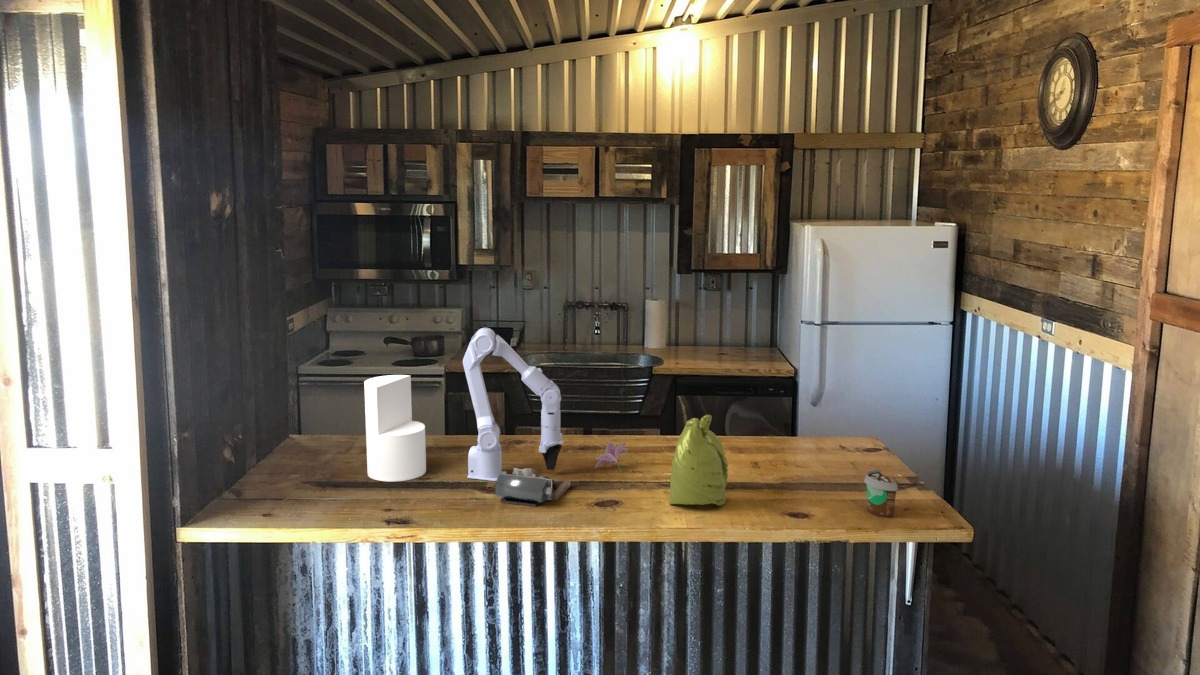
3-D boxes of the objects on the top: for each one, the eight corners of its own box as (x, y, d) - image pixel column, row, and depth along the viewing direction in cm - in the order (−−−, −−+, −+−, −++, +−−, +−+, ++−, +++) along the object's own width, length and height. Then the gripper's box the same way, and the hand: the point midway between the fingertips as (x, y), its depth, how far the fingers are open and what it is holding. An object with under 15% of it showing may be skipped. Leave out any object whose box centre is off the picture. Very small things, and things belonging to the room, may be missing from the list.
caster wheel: (555, 496, 262) (544, 502, 252) (519, 484, 265) (507, 490, 255) (561, 474, 261) (550, 480, 252) (525, 462, 264) (513, 467, 255)
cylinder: (355, 476, 269) (351, 384, 264) (389, 460, 285) (386, 372, 280) (404, 484, 263) (402, 390, 258) (437, 467, 279) (435, 378, 274)
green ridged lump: (723, 514, 242) (726, 426, 238) (665, 510, 245) (667, 423, 241) (729, 484, 266) (732, 403, 262) (676, 480, 269) (678, 400, 265)
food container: (855, 503, 251) (857, 469, 249) (877, 503, 251) (879, 468, 250) (872, 520, 239) (875, 484, 237) (895, 520, 239) (897, 483, 237)
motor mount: (488, 501, 250) (487, 477, 248) (514, 480, 267) (513, 457, 266) (547, 509, 245) (547, 484, 244) (570, 486, 262) (570, 463, 261)
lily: (634, 468, 283) (623, 439, 285) (640, 464, 272) (628, 434, 273) (599, 482, 281) (587, 453, 283) (603, 479, 270) (591, 449, 271)
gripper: (555, 432, 261) (555, 478, 264) (571, 420, 275) (571, 463, 277) (532, 430, 263) (532, 475, 266) (549, 418, 277) (549, 461, 279)
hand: (550, 469), depth 272 cm, fingers closed
